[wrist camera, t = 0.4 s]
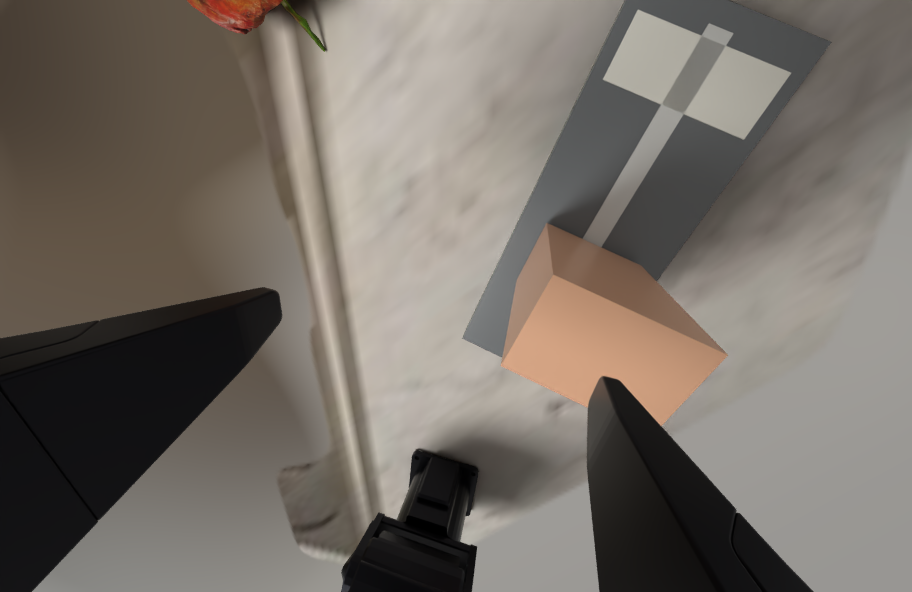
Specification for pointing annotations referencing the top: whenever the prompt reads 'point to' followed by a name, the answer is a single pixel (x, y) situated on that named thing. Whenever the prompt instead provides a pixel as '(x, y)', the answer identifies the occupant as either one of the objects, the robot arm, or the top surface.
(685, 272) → the top surface
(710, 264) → the top surface
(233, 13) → the pomegranate
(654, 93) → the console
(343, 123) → the top surface
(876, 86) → the top surface
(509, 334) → the fader knob
